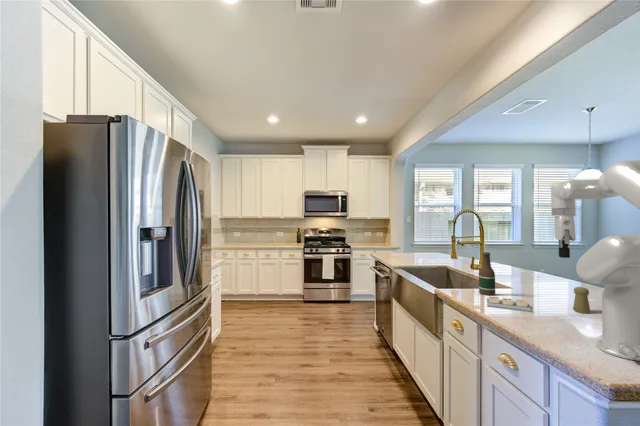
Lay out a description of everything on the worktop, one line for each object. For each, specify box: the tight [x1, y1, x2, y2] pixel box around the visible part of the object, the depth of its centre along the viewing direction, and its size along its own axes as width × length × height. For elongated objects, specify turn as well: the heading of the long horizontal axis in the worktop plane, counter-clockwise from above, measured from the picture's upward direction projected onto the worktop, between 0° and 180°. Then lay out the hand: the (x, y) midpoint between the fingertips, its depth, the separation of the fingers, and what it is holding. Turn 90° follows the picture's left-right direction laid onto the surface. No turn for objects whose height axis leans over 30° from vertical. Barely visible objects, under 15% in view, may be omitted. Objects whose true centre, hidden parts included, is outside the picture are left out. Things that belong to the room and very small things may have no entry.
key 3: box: [488, 296, 500, 304], centre depth 139 cm, size 4×4×4 cm
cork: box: [572, 286, 592, 315], centre depth 130 cm, size 6×6×11 cm
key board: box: [486, 297, 533, 313], centre depth 136 cm, size 13×17×2 cm
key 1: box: [515, 298, 528, 307], centre depth 134 cm, size 4×4×4 cm
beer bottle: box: [478, 251, 496, 297], centre depth 156 cm, size 8×8×24 cm
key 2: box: [501, 297, 514, 306], centre depth 136 cm, size 4×4×4 cm
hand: (564, 257), depth 117 cm, fingers closed
